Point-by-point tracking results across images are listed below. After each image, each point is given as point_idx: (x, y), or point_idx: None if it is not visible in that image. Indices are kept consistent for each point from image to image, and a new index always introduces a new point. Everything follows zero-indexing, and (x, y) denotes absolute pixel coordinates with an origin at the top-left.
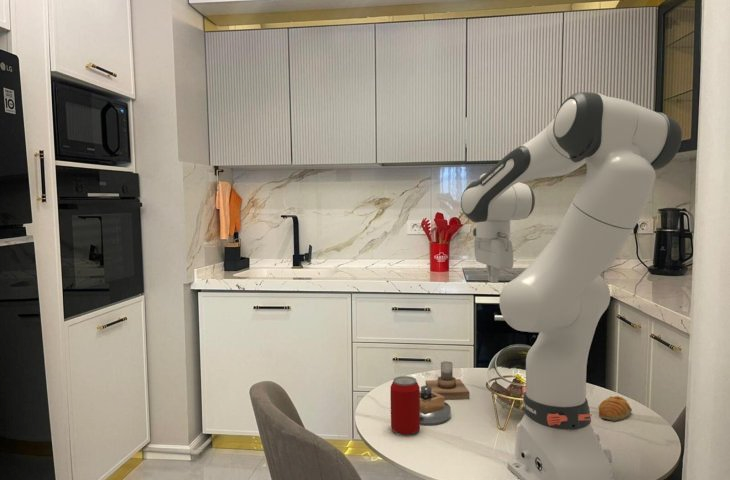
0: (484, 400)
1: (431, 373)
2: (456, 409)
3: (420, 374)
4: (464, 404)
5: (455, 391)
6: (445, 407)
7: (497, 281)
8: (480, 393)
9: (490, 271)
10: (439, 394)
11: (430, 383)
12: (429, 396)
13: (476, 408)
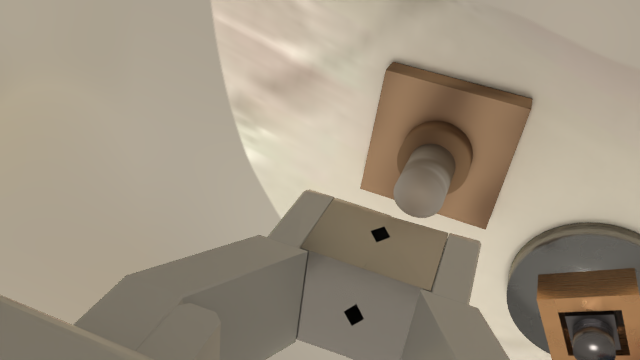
0: (573, 51)
1: (243, 92)
2: (598, 189)
3: (246, 131)
4: (570, 141)
5: (504, 154)
6: (628, 261)
7: (478, 250)
8: (497, 25)
9: (238, 339)
10: (608, 296)
11: (392, 188)
12: (613, 334)
13: (629, 123)
